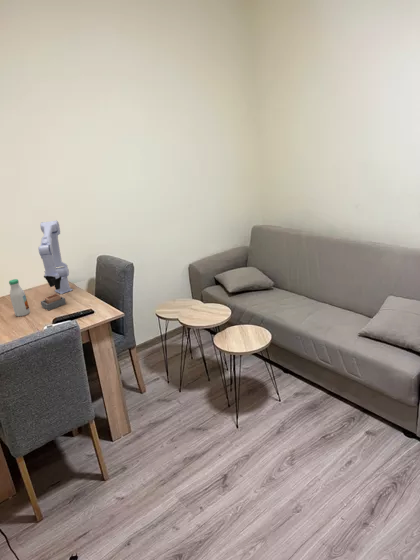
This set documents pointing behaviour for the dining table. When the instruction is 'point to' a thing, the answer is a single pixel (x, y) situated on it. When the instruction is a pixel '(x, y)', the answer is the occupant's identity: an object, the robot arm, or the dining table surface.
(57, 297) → the small crate
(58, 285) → the robot arm
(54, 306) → the large crate
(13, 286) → the milk bottle
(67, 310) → the dining table surface
